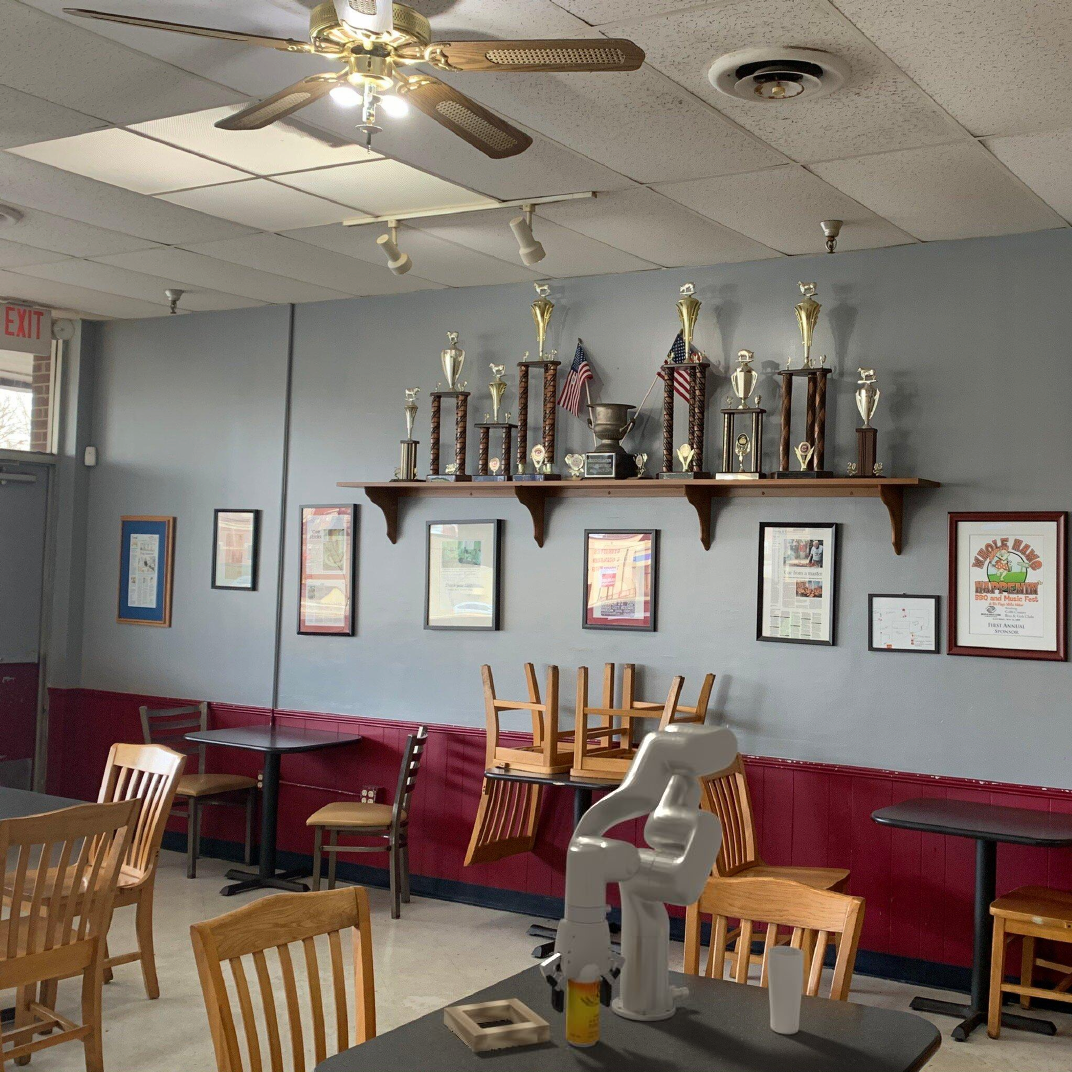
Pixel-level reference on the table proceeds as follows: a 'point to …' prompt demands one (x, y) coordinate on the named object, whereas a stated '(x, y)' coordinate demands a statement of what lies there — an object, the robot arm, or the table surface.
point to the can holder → (520, 1033)
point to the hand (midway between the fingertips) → (581, 1007)
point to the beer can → (583, 1007)
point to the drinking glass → (785, 987)
